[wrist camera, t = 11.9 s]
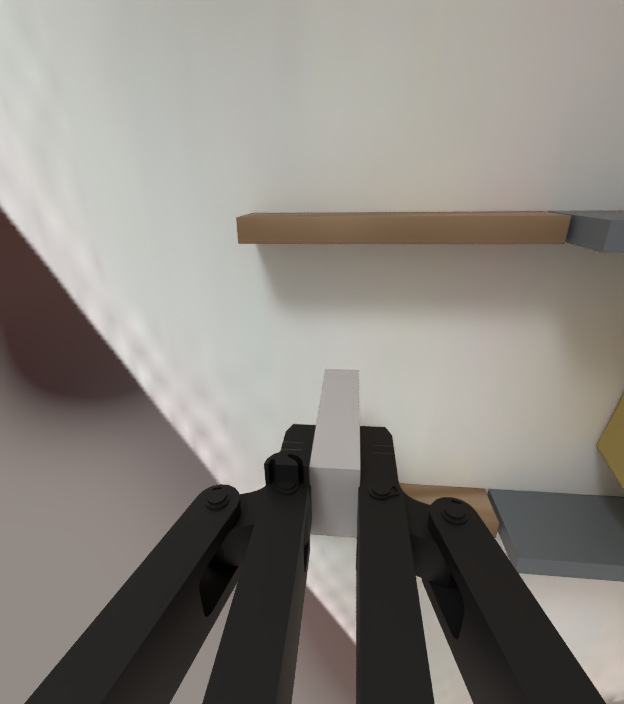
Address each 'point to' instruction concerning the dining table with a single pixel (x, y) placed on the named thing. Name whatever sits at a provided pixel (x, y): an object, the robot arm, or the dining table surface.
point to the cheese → (614, 443)
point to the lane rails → (411, 231)
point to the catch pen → (568, 509)
